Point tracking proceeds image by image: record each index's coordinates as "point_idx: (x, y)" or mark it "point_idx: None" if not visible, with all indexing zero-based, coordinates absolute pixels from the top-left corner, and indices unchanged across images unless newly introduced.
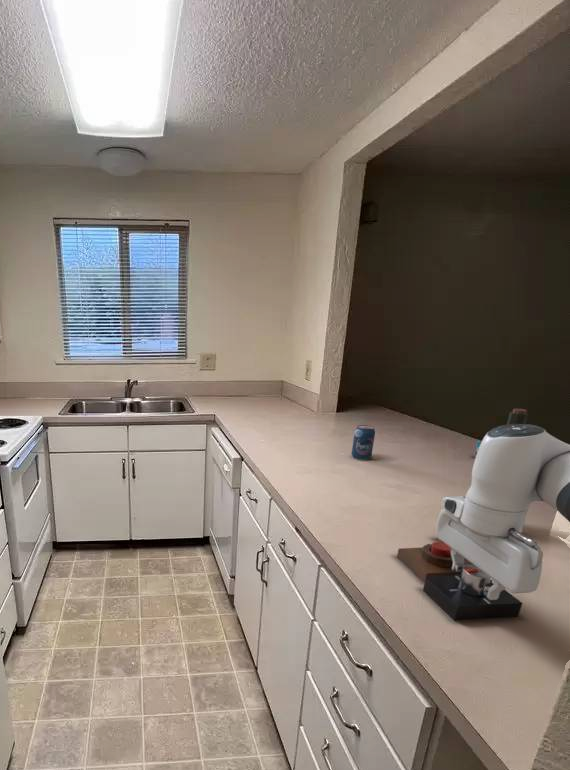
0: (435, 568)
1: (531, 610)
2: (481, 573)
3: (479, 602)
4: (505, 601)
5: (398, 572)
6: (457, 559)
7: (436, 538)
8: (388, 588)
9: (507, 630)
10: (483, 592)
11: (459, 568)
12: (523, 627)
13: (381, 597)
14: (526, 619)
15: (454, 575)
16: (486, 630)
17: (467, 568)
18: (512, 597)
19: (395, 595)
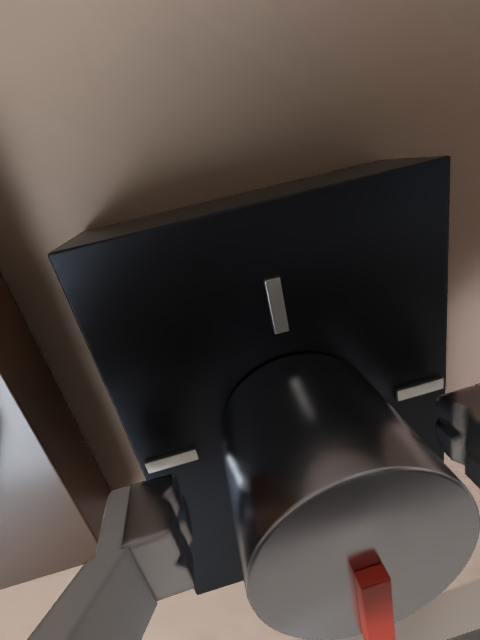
0: (20, 513)
1: (314, 6)
2: (412, 544)
3: (422, 425)
4: (424, 274)
5: (45, 580)
6: (125, 636)
7: None
8: (201, 612)
9: (470, 279)
10: (456, 459)
11: (190, 556)
12: (461, 185)
13: (265, 628)
14: (402, 118)
15: (36, 398)
16: (459, 365)
17: (324, 617)
18: (385, 196)
19: (246, 596)
